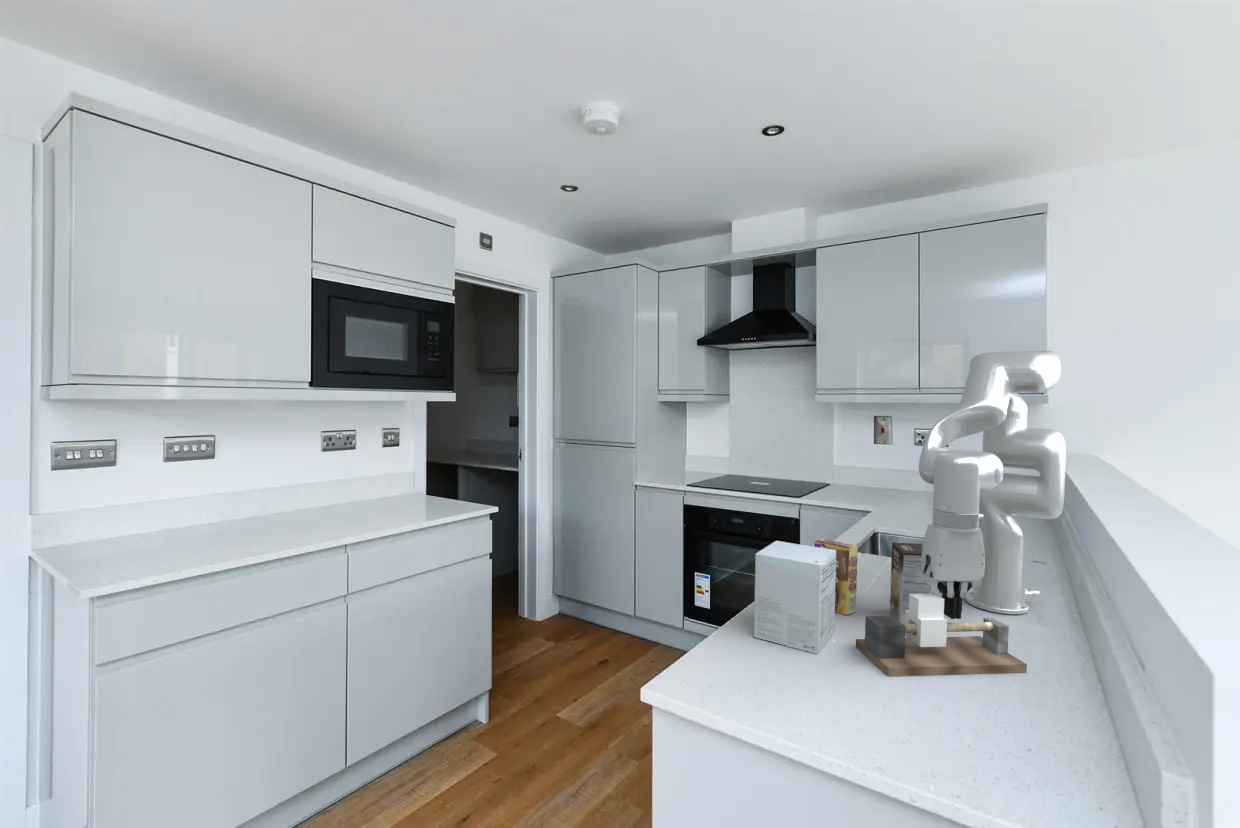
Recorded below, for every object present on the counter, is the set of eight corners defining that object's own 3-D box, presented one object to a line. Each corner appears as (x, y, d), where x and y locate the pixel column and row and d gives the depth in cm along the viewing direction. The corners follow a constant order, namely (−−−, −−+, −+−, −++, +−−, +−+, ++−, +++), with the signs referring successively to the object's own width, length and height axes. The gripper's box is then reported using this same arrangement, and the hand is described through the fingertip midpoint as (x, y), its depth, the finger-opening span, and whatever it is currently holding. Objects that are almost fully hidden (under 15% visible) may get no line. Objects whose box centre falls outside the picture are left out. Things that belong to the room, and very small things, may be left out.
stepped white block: (929, 635, 112) (931, 591, 112) (946, 646, 107) (947, 601, 107) (904, 635, 112) (906, 592, 111) (920, 647, 107) (921, 601, 106)
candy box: (857, 612, 133) (859, 545, 132) (847, 616, 130) (849, 548, 130) (822, 600, 140) (823, 537, 139) (811, 604, 137) (813, 540, 137)
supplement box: (835, 632, 122) (838, 549, 121) (818, 655, 111) (821, 564, 110) (773, 617, 129) (775, 539, 128) (752, 638, 118) (754, 553, 117)
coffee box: (888, 610, 134) (890, 541, 134) (918, 612, 133) (920, 543, 132) (899, 625, 125) (901, 552, 125) (931, 628, 124) (934, 554, 124)
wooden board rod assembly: (979, 643, 117) (981, 606, 117) (1026, 672, 105) (1028, 631, 105) (855, 646, 115) (856, 609, 114) (888, 676, 103) (890, 634, 102)
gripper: (978, 515, 113) (975, 608, 114) (905, 515, 112) (902, 609, 113) (1007, 524, 106) (1003, 623, 107) (929, 524, 105) (925, 625, 105)
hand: (951, 616), depth 110 cm, fingers closed
